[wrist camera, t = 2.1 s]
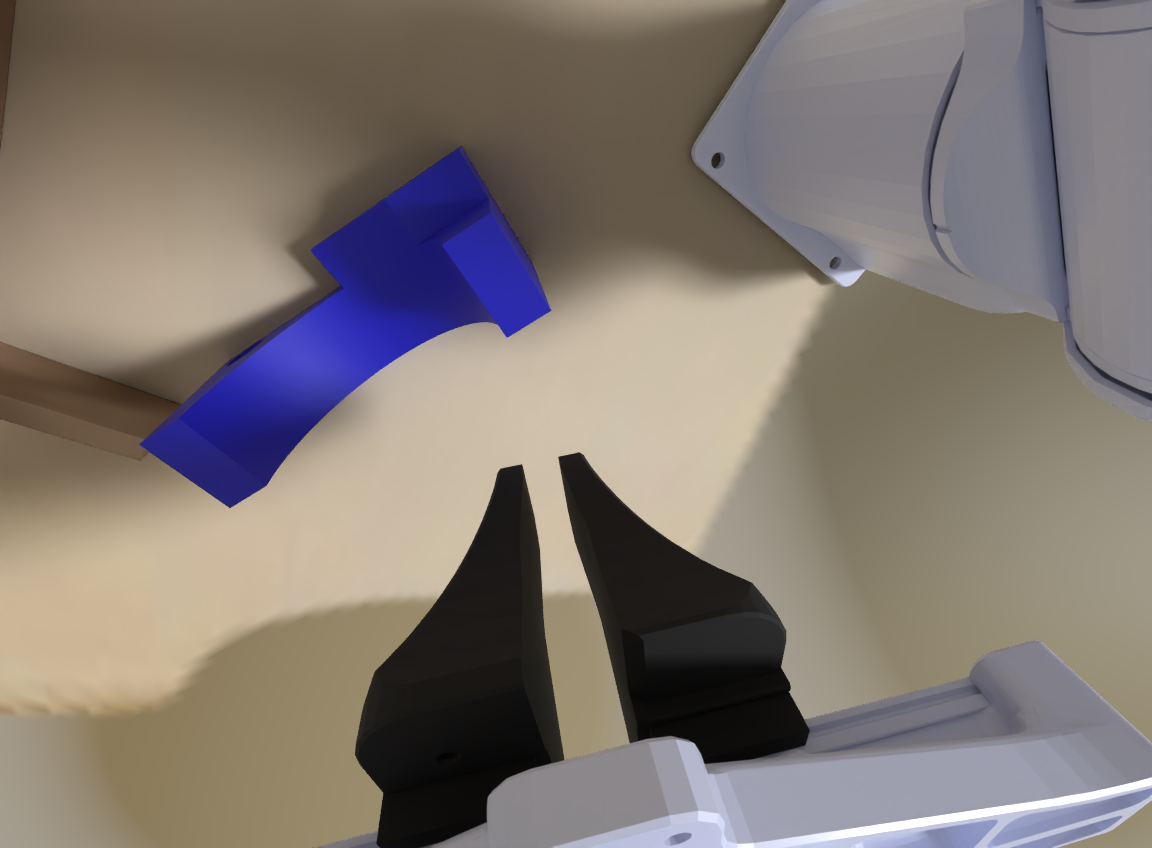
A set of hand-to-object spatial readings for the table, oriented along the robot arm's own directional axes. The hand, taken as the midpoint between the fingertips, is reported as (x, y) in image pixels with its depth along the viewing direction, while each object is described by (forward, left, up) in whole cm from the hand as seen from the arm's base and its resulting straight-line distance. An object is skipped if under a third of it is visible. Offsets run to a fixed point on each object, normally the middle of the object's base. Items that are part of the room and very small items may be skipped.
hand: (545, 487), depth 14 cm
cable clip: (+7, 0, -9) cm, 11 cm away
